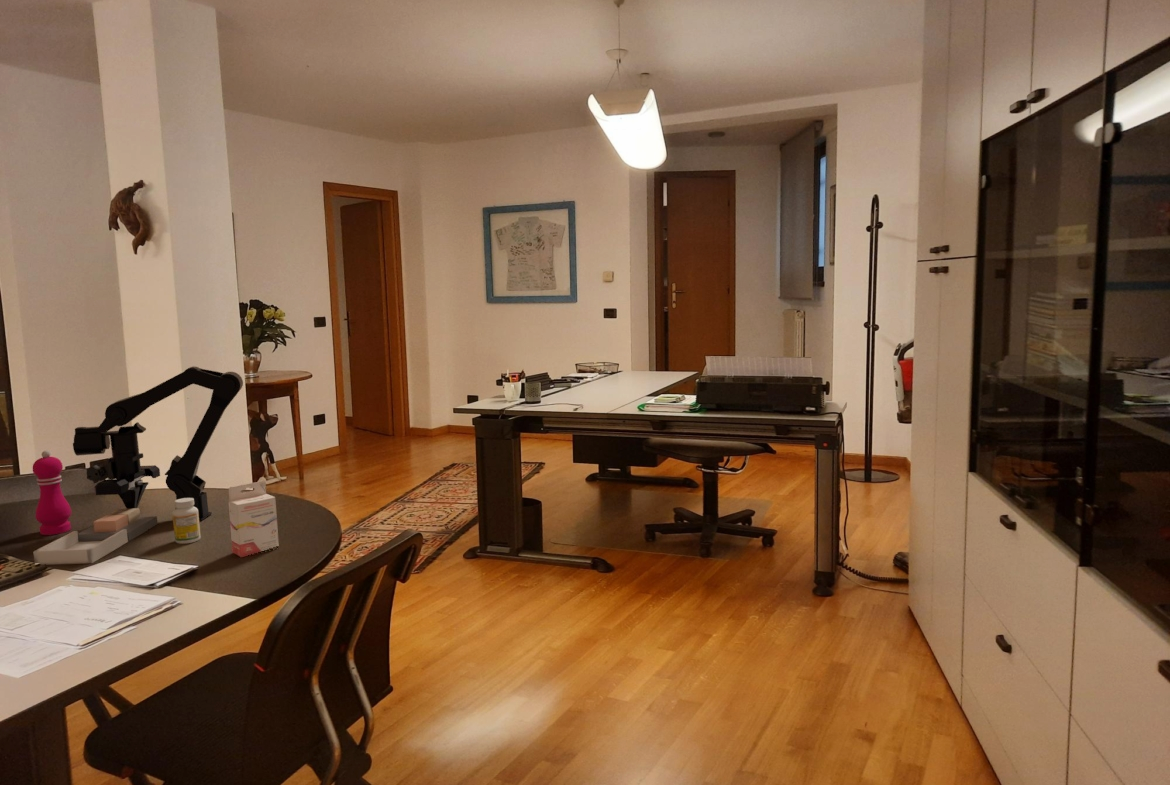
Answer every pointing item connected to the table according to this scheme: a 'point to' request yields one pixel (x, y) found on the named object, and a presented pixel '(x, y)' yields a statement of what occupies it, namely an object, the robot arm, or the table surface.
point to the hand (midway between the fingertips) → (132, 513)
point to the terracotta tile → (110, 523)
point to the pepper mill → (51, 496)
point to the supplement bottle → (186, 521)
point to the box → (78, 549)
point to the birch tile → (128, 514)
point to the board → (132, 530)
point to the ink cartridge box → (252, 519)
